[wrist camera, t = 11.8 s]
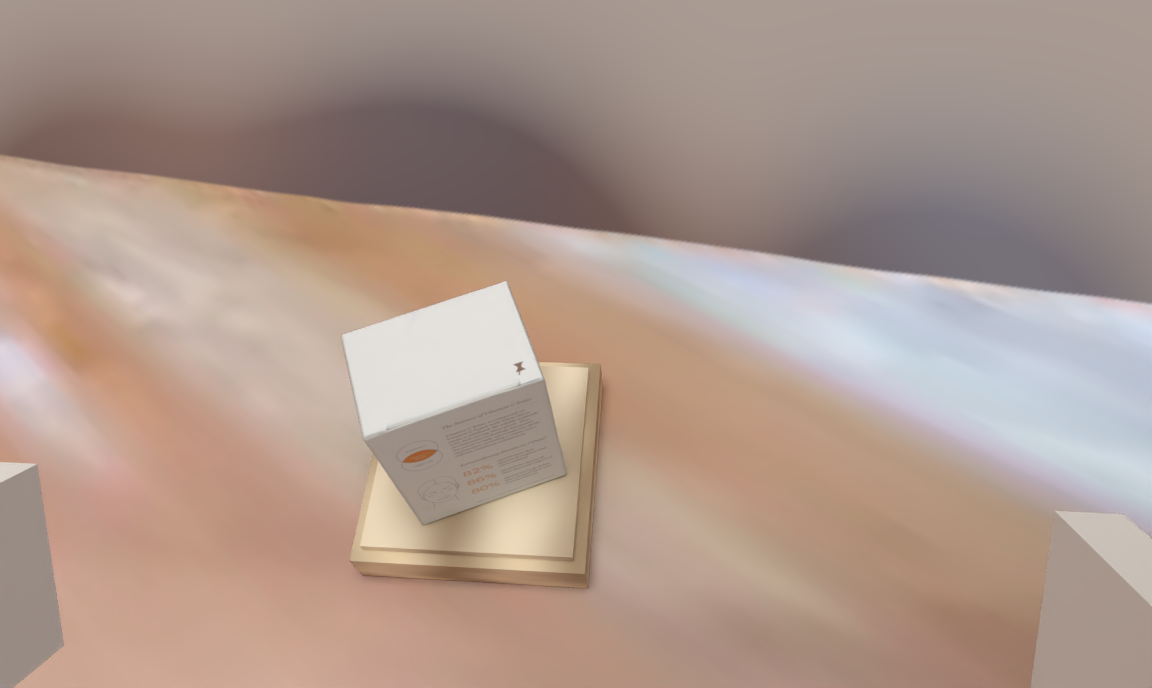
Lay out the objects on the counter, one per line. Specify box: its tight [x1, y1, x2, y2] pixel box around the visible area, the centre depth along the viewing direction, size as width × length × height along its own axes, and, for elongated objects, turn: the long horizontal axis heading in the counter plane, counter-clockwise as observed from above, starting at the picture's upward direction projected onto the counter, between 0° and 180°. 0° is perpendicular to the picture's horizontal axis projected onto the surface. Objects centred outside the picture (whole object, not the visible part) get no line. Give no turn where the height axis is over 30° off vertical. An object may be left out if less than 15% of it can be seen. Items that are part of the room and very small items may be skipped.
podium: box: [349, 362, 603, 588], centre depth 47 cm, size 12×12×3 cm
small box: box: [341, 281, 567, 525], centre depth 42 cm, size 8×6×10 cm
